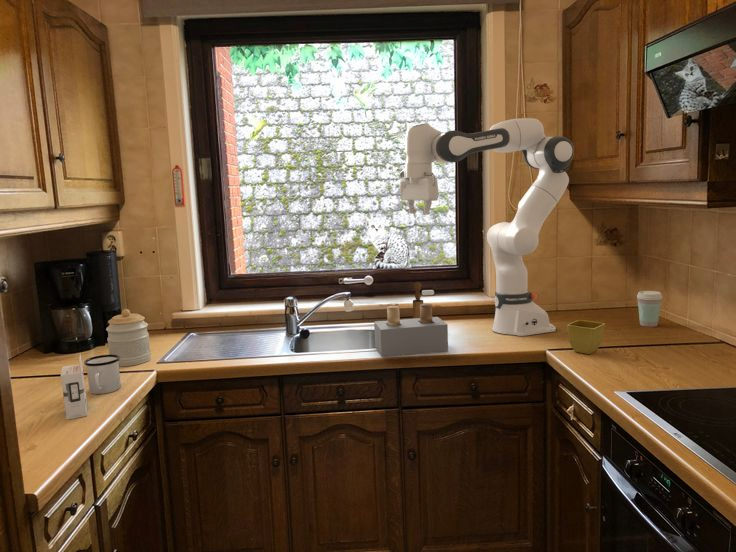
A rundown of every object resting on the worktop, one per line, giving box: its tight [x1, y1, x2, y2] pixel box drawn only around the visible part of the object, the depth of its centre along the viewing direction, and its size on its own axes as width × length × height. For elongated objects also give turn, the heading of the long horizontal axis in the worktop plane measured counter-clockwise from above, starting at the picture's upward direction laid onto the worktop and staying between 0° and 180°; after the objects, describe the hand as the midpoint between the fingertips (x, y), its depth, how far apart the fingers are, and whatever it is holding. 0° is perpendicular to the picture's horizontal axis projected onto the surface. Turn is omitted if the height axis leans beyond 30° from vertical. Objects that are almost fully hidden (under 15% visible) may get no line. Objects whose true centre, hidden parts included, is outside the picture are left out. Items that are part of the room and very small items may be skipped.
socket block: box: [373, 316, 449, 358], centre depth 204 cm, size 22×12×9 cm, turn 99°
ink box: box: [60, 353, 88, 421], centre depth 157 cm, size 8×5×15 cm, turn 24°
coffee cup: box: [636, 290, 663, 328], centre depth 223 cm, size 8×9×12 cm
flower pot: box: [566, 319, 606, 355], centre depth 193 cm, size 9×9×9 cm
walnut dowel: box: [420, 303, 433, 324], centre depth 204 cm, size 4×4×9 cm
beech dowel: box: [386, 305, 401, 326], centre depth 202 cm, size 4×4×9 cm
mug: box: [83, 354, 122, 395], centre depth 174 cm, size 12×10×9 cm
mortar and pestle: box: [412, 281, 424, 319], centre depth 230 cm, size 7×6×18 cm
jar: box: [105, 308, 152, 367], centre depth 203 cm, size 13×13×18 cm
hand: (419, 214), depth 210 cm, fingers open, 8 cm apart
